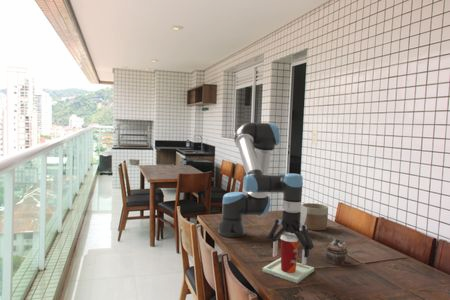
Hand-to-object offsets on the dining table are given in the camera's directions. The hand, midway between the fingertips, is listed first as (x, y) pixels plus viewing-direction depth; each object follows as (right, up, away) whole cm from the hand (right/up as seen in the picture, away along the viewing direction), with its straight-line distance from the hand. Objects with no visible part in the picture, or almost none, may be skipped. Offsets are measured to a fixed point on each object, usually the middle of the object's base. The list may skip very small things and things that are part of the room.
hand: (288, 260), depth 144 cm
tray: (0, -5, 0) cm, 5 cm away
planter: (+29, -2, +70) cm, 76 cm away
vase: (+14, -2, +59) cm, 61 cm away
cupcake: (+24, -5, +14) cm, 29 cm away
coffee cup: (0, -5, 0) cm, 5 cm away
